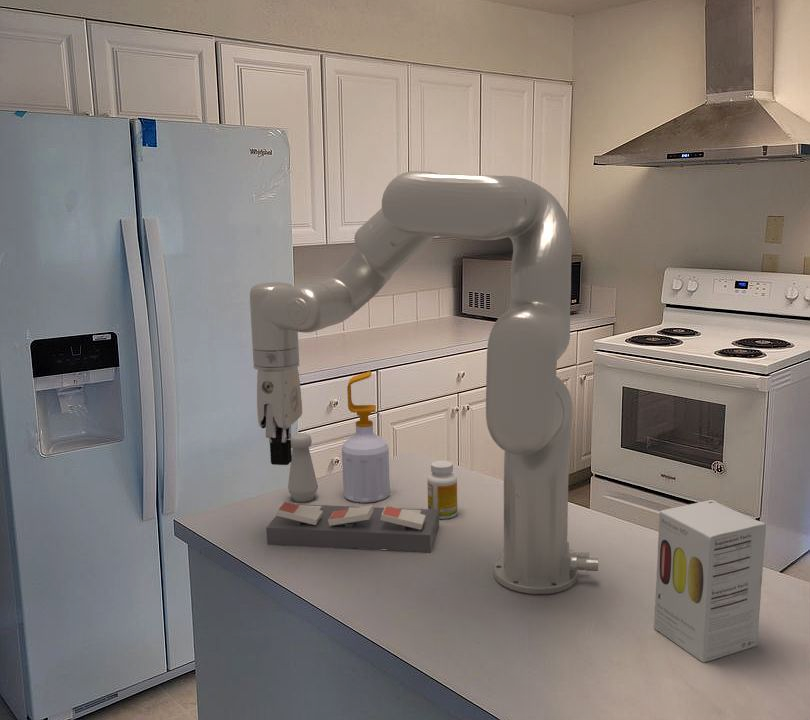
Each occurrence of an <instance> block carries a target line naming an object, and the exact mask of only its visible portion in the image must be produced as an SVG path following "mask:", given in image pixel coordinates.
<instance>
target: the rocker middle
mask: <svg viewBox="0 0 810 720" xmlns="http://www.w3.org/2000/svg"><path fill="white" fill-rule="evenodd" d="M356 507H357V508H351V509H345V510H339V511H334V512H333V513H332V515H331V516H330V518H329V519H328V523H329V526H332V525H338V524H344V523H350V522H356V521H362V520H369V518H370V516H371V515H372V513H373V511H374V510H373V507H374V506H373V504H370V505H364V506H356Z"/></svg>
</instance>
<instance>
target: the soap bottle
mask: <svg viewBox="0 0 810 720" xmlns="http://www.w3.org/2000/svg"><path fill="white" fill-rule="evenodd" d="M372 374H373V373H372V371H370V370H369V371H366V372H363V373H360V374H357V375H354V376H353V377H351V378H350V379H349V381H348V384H347V390H346V391H347V394H346V395H347V408H348V411H350V412H351V413H356V416H359V420H357V421H355V433H354V434H353V435H352V436H350V437H349V438H348V439H346V440H345V441H344V442H343V444H342V447H341V459H342V460H341V462H342V463H341V466H342V485H343V496H344V498H345V499H346V500H348V501H351V502H354V503H359V502H360V503H359V504H369V503H370V502H371V503H376V502H380V501H383V500H384V499H387V498H388V497H389V495H390V493H391V487H390V486H391V485H390V482H391V481H390V454H389V453H390V451H389V448H390V447H389V446H388V443H387V441H386V440H385V439H384V438H383V437H382V436H380V435H378V434H376V433H374V423H373V421H372V420H369V416H371V415H372V413H374V412H376V409H377V406H376V405H375V404H359V405H358V404H354V403H353V401H352V385H353V384H354V383H358V382H360V381H363V380H366V379H369V378H370V377H372Z"/></svg>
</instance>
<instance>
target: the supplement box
mask: <svg viewBox="0 0 810 720" xmlns="http://www.w3.org/2000/svg"><path fill="white" fill-rule="evenodd" d="M766 527H767V523H765V522H763V521H761V520H757V519H755V518H753V517H751V516H748V515H746V514H744V513H741V512H740V511H737V510H734V509H733V508H731V507H728V506H726V505H725V504H722V503H720V502H718V501H715V500H713V499H709V500H705V501H700V502H695V503H694V502H693V503H690V504H685V505H681V506H676V507H671V508H666V509H662V510H660V511H659V518H658V542H657V560H656V561H657V563H656V578H655V579H656V581H655V599H654V601H655V602H654V603H655V604H654V616H653V617H654V620H653V628H654V630H656V631H657V632H659V633H661V634H662V635H663V636H665V637H666V638H667V639H669V640H670V641H672V642H673V643H675V644H676V645H677V646H679V647H680V648H681V649H683V651H684V650H685V651H686V652H687V653H689V655H691V656H693V657H694V658H695V659H697V660H698V661H700V662H701V663H707V662H710V661H713V660H716V659H720V658H723V657H726V656H730V655H732V654H736V653H738V652H739V653H740V652H742V651H745V650H748V649H751V648H755V647H757V646H758V637H759V624H760V613H761V610H760V608H761V598H762V597H761V596H762V595H761V594H762V584H763V571H764V570H763V569H764V557H765V556H764V555H765V545H766V544H765V543H766V530H767V529H766Z"/></svg>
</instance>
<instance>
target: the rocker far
mask: <svg viewBox="0 0 810 720" xmlns="http://www.w3.org/2000/svg"><path fill="white" fill-rule="evenodd" d="M297 504H298V503H291V502H288V501H284V502H283V503H282V504H281V505H280V506H279V507H278V509H277V511H276V515H275V517H276V516H280V517H284V518H288V519H292V520H296V521H300V522H304V523H308V524H313V525H316V524H317V523H318V521H319V520H320V518H321V517H322V514H323V511H321V510H317V509H313V508H309V507H305V506H301V505H297Z"/></svg>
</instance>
